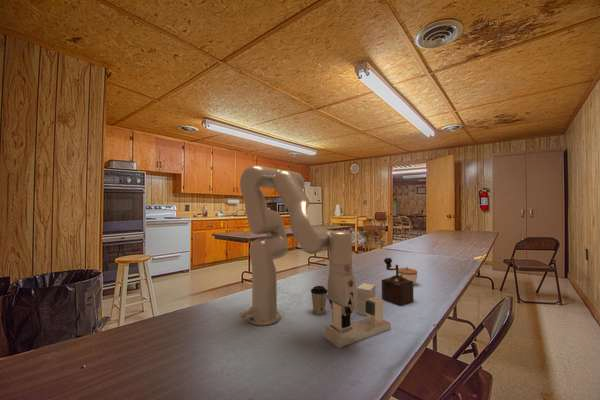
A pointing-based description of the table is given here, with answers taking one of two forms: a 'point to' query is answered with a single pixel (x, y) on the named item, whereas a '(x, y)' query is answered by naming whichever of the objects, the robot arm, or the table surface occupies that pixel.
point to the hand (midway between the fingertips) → (341, 323)
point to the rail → (360, 326)
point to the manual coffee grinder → (396, 287)
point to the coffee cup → (319, 299)
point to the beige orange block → (338, 316)
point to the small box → (364, 296)
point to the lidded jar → (408, 274)
